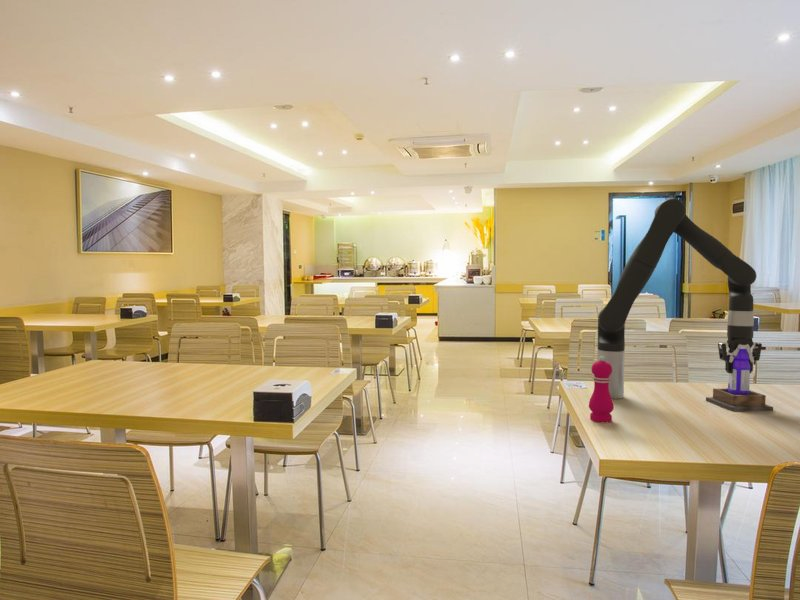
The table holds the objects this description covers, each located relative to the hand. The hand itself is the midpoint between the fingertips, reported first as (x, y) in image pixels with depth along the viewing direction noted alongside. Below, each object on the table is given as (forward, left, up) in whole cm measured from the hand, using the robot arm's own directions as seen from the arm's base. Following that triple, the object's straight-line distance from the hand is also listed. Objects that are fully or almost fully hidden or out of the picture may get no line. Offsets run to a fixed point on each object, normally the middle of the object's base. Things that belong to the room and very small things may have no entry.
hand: (739, 372), depth 180 cm
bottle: (0, 0, -8) cm, 8 cm away
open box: (0, 0, -11) cm, 11 cm away
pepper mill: (-54, -16, -12) cm, 57 cm away
